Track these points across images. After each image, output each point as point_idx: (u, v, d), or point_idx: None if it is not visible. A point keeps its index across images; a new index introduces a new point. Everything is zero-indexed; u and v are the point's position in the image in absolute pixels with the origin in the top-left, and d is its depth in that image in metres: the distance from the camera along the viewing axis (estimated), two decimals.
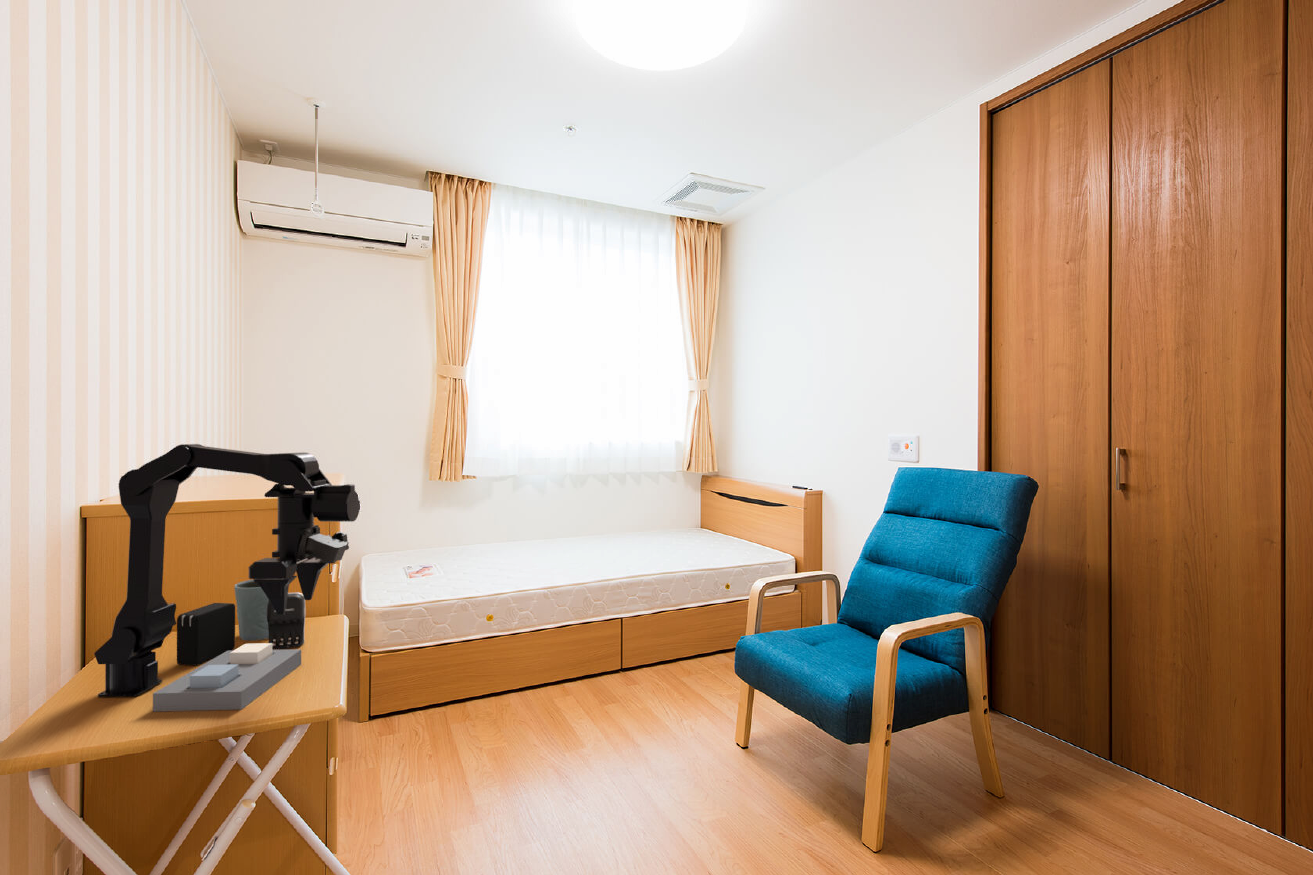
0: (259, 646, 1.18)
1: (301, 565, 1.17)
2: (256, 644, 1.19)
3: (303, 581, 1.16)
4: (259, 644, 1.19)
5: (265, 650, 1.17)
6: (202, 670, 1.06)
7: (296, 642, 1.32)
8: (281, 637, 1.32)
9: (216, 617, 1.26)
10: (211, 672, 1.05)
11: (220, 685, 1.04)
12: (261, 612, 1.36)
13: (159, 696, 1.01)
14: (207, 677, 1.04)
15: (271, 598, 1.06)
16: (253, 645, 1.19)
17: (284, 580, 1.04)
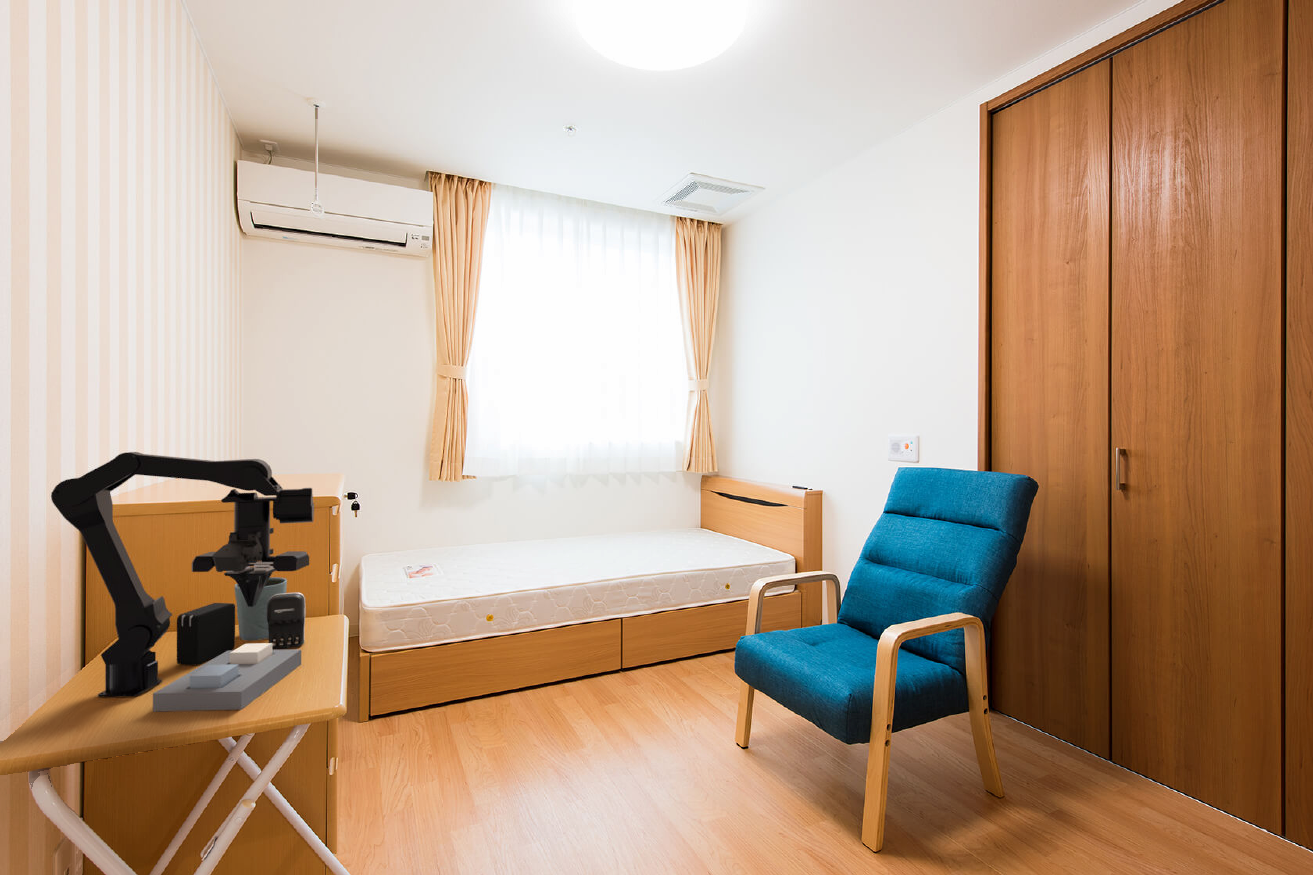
0: (259, 646, 1.18)
1: None
2: (256, 644, 1.19)
3: None
4: (259, 644, 1.19)
5: (265, 650, 1.17)
6: (202, 670, 1.06)
7: (296, 642, 1.32)
8: (281, 637, 1.32)
9: (216, 617, 1.25)
10: (211, 672, 1.05)
11: (220, 685, 1.04)
12: (261, 612, 1.36)
13: (159, 696, 1.01)
14: (207, 677, 1.04)
15: None
16: (253, 645, 1.19)
17: None
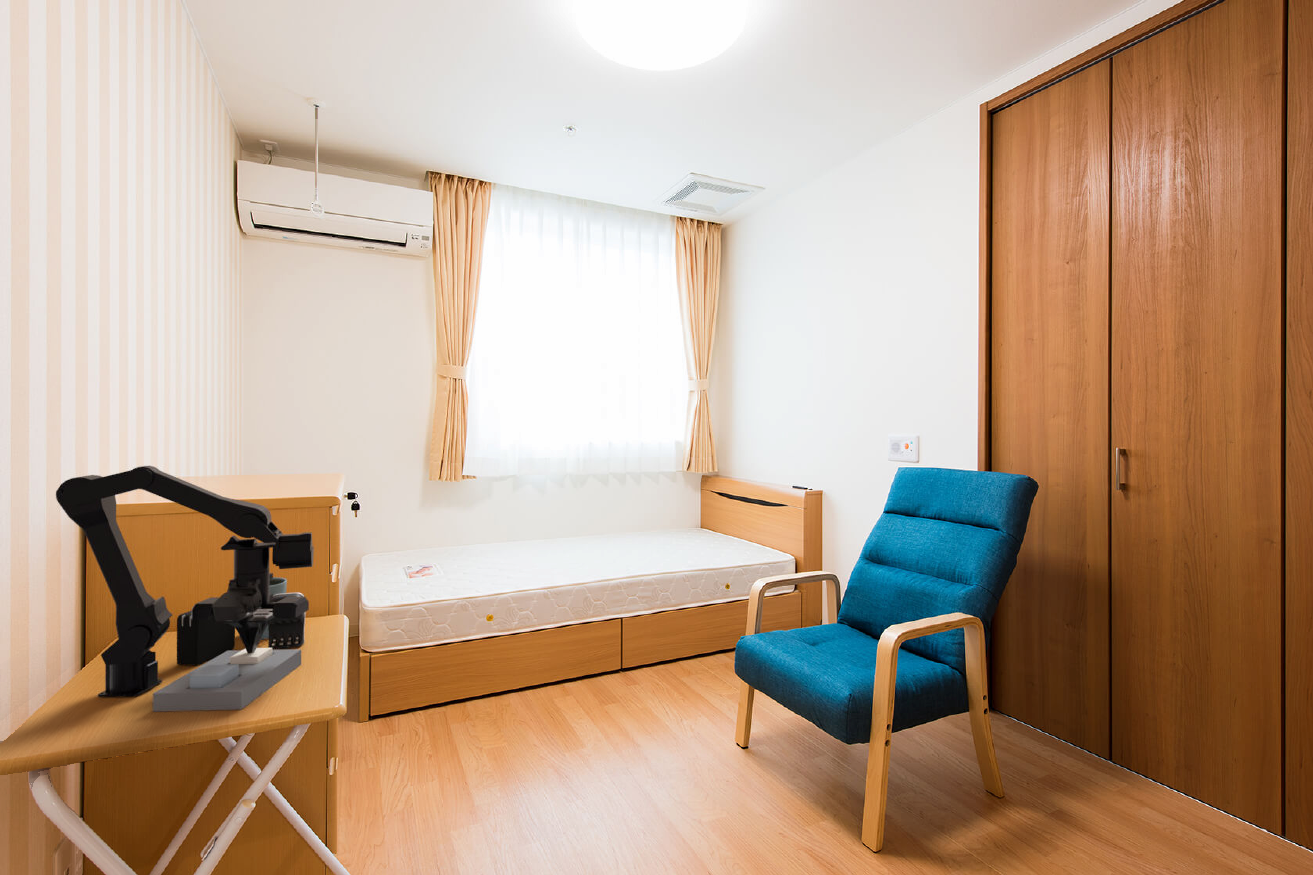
0: (259, 651, 1.18)
1: None
2: (256, 648, 1.19)
3: None
4: (259, 649, 1.19)
5: (264, 655, 1.18)
6: (202, 670, 1.06)
7: (296, 642, 1.32)
8: (281, 637, 1.32)
9: None
10: (211, 672, 1.05)
11: (220, 685, 1.04)
12: None
13: (159, 696, 1.01)
14: (207, 677, 1.04)
15: None
16: None
17: (224, 621, 1.15)
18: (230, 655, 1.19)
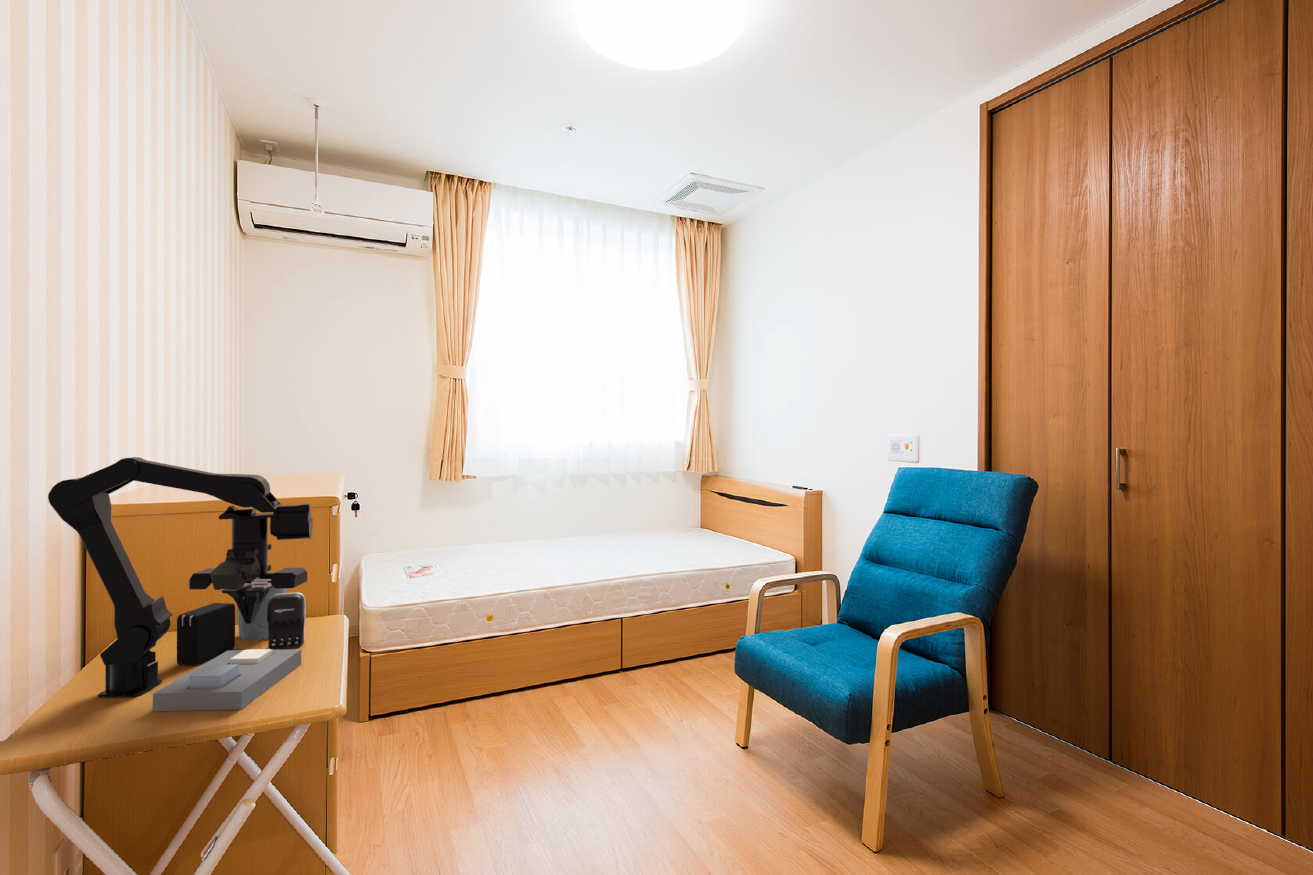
0: (259, 652, 1.18)
1: None
2: (256, 650, 1.19)
3: None
4: (259, 650, 1.19)
5: (264, 656, 1.18)
6: (202, 670, 1.06)
7: (296, 642, 1.32)
8: (281, 637, 1.32)
9: (216, 617, 1.25)
10: (211, 672, 1.05)
11: (220, 685, 1.04)
12: (261, 612, 1.36)
13: (159, 696, 1.01)
14: (207, 677, 1.04)
15: None
16: (253, 651, 1.19)
17: (221, 591, 1.14)
18: (230, 655, 1.19)
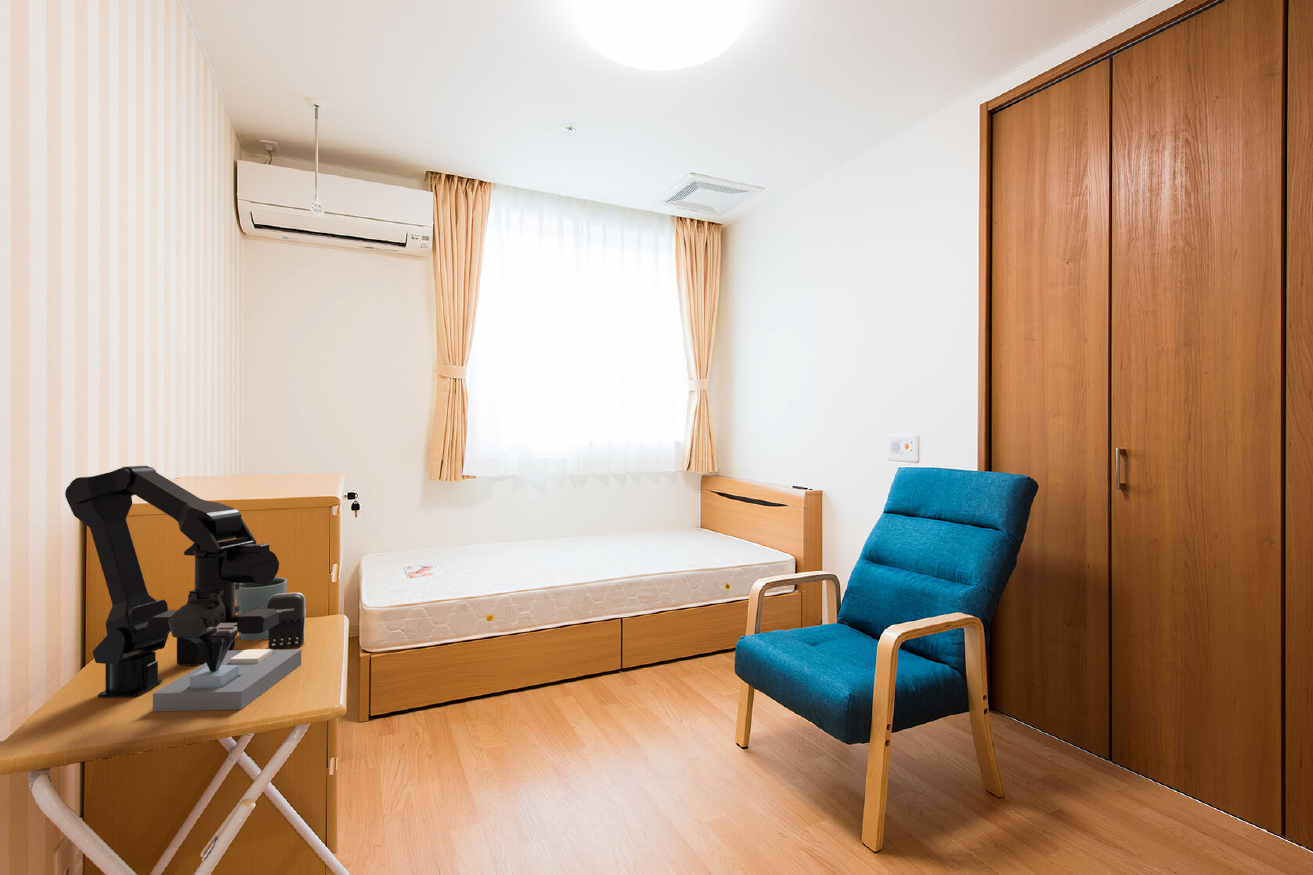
0: (259, 652, 1.18)
1: None
2: (256, 650, 1.19)
3: None
4: (259, 650, 1.19)
5: (264, 656, 1.18)
6: (202, 671, 1.06)
7: (296, 642, 1.32)
8: (281, 637, 1.32)
9: None
10: (211, 673, 1.05)
11: (220, 686, 1.04)
12: None
13: (159, 696, 1.01)
14: (207, 677, 1.04)
15: None
16: (253, 651, 1.19)
17: (183, 636, 1.04)
18: (230, 655, 1.19)
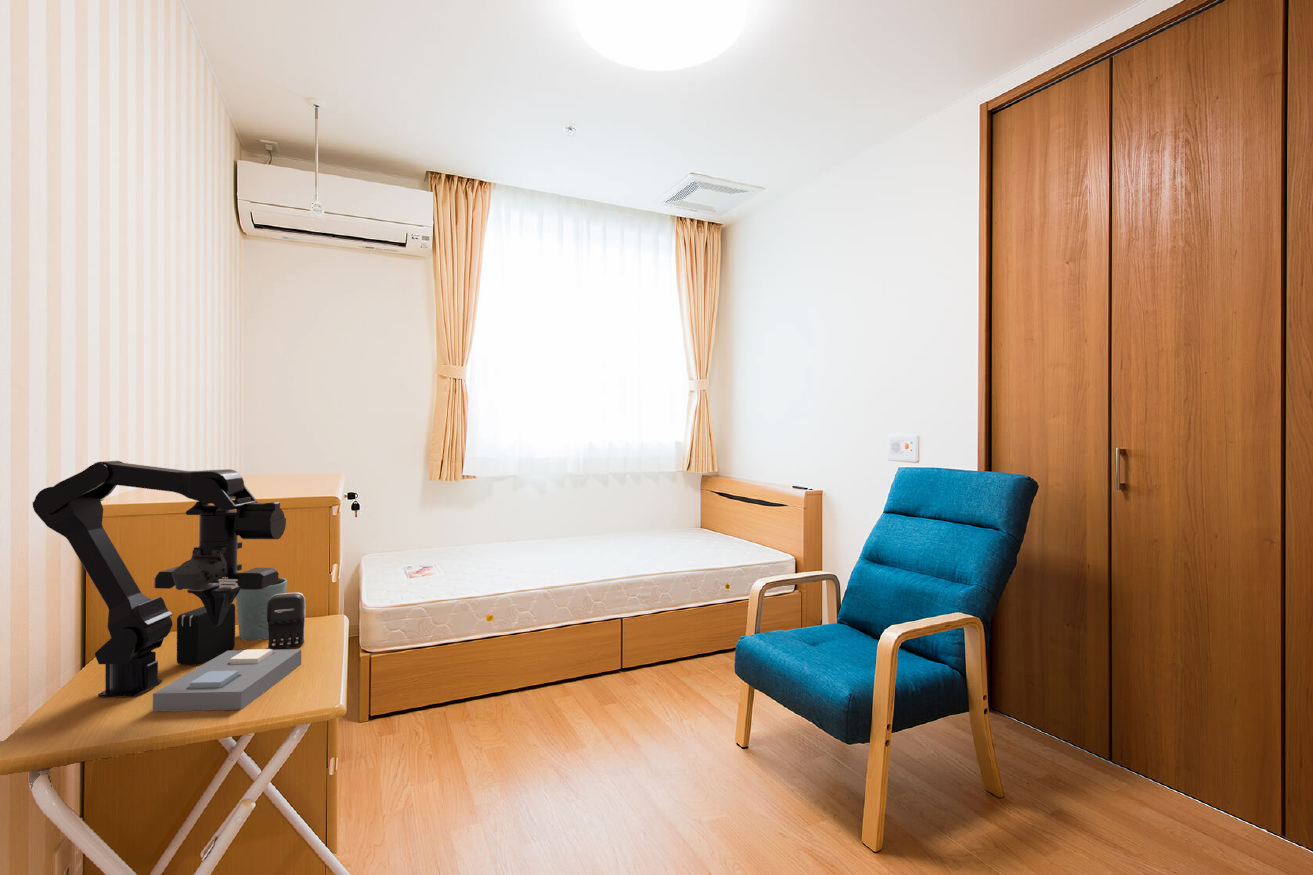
0: (259, 652, 1.18)
1: None
2: (256, 650, 1.19)
3: None
4: (259, 650, 1.19)
5: (264, 656, 1.18)
6: (202, 676, 1.06)
7: (296, 642, 1.32)
8: (281, 637, 1.32)
9: None
10: (211, 678, 1.05)
11: None
12: (261, 612, 1.36)
13: (159, 696, 1.01)
14: (207, 683, 1.04)
15: None
16: (253, 651, 1.19)
17: None
18: (230, 655, 1.19)
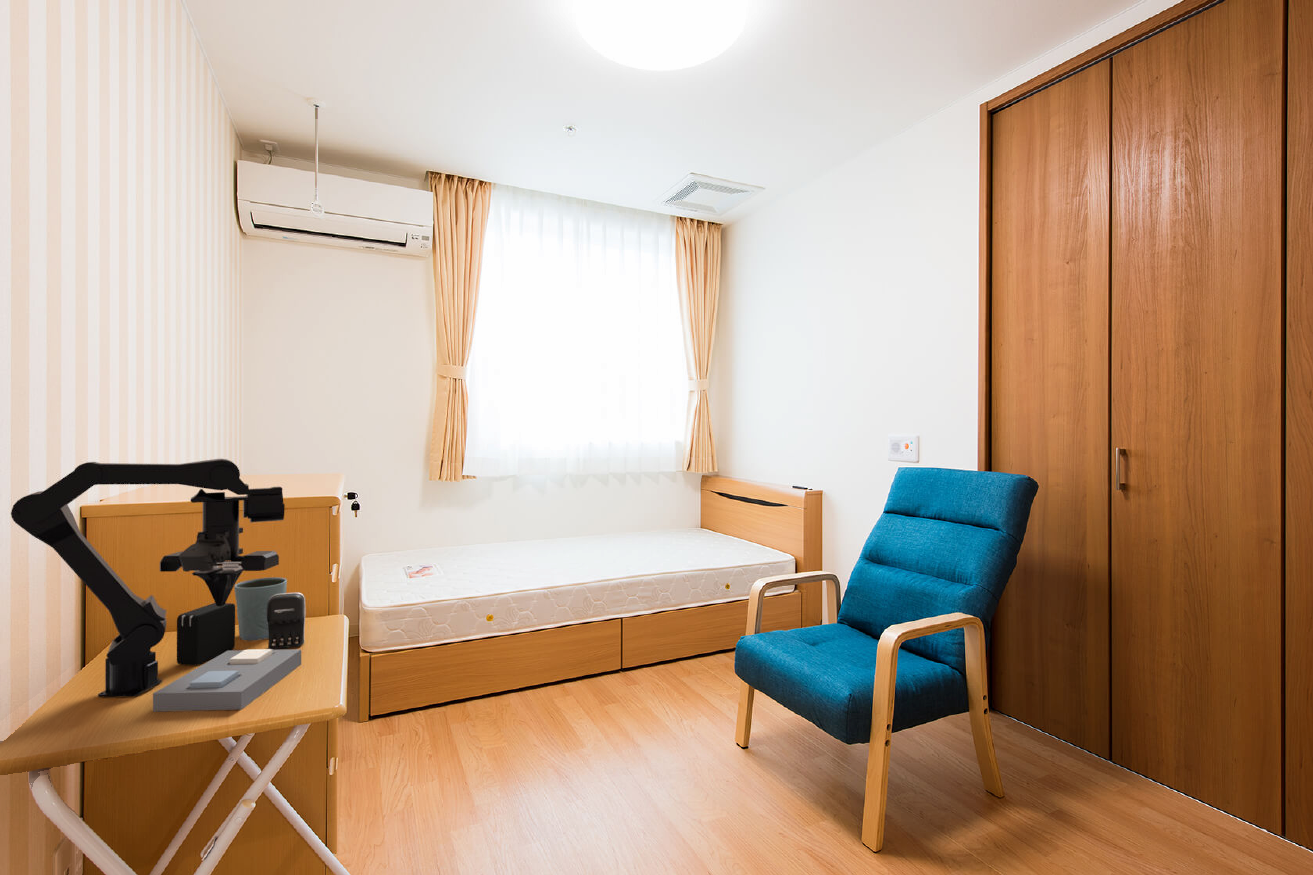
0: (259, 652, 1.18)
1: None
2: (256, 650, 1.19)
3: None
4: (259, 650, 1.19)
5: (264, 656, 1.18)
6: (202, 676, 1.06)
7: (296, 642, 1.32)
8: (281, 637, 1.32)
9: (216, 617, 1.25)
10: (211, 678, 1.05)
11: None
12: (261, 612, 1.36)
13: (159, 696, 1.01)
14: (207, 683, 1.04)
15: None
16: (253, 651, 1.19)
17: (192, 573, 1.15)
18: (230, 655, 1.19)
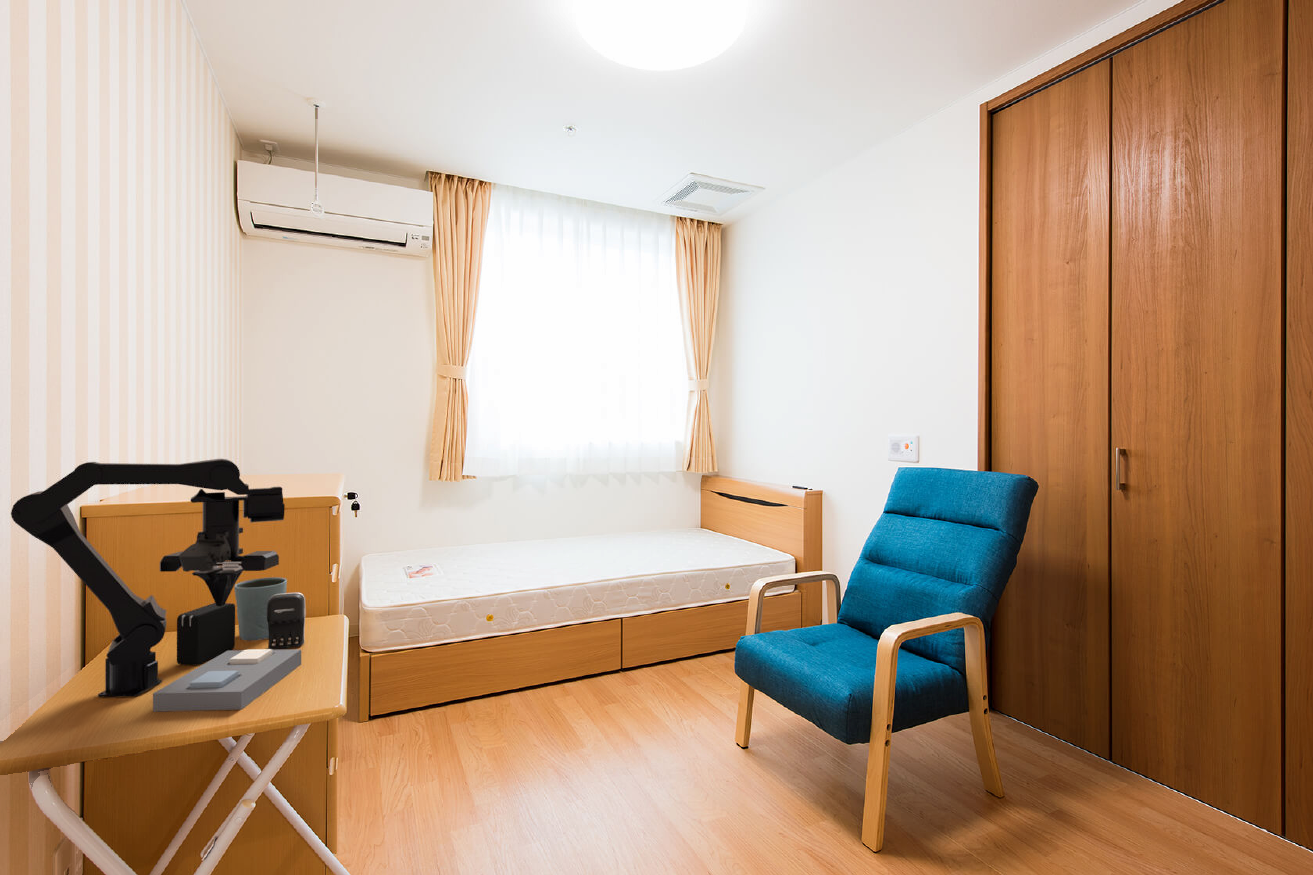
0: (259, 652, 1.18)
1: None
2: (256, 650, 1.19)
3: None
4: (259, 650, 1.19)
5: (264, 656, 1.18)
6: (202, 676, 1.06)
7: (296, 642, 1.32)
8: (281, 637, 1.32)
9: (216, 617, 1.25)
10: (211, 678, 1.05)
11: None
12: (261, 612, 1.36)
13: (159, 696, 1.01)
14: (207, 683, 1.04)
15: None
16: (253, 651, 1.19)
17: (192, 573, 1.15)
18: (230, 655, 1.19)
